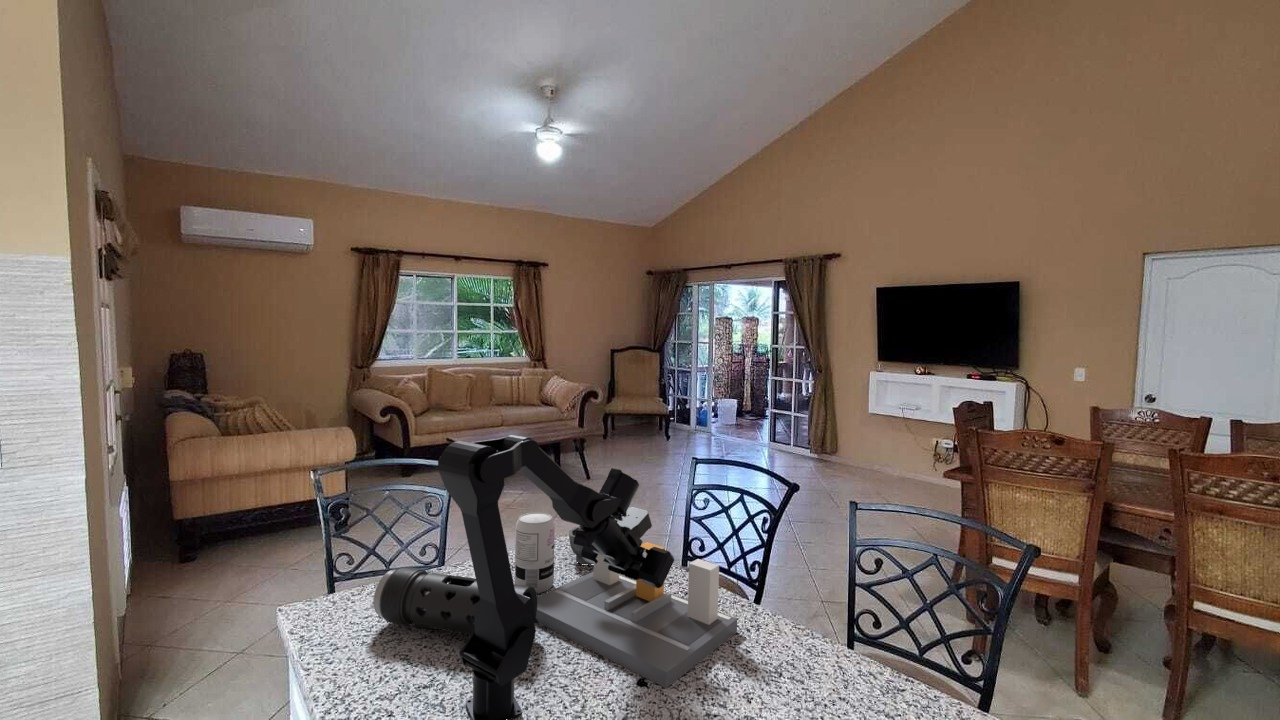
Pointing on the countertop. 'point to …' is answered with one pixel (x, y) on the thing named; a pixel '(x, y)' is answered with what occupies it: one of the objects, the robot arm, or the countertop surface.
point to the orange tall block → (645, 589)
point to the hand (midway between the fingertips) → (644, 577)
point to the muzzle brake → (432, 600)
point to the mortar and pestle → (576, 547)
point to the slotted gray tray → (640, 620)
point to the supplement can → (535, 551)
